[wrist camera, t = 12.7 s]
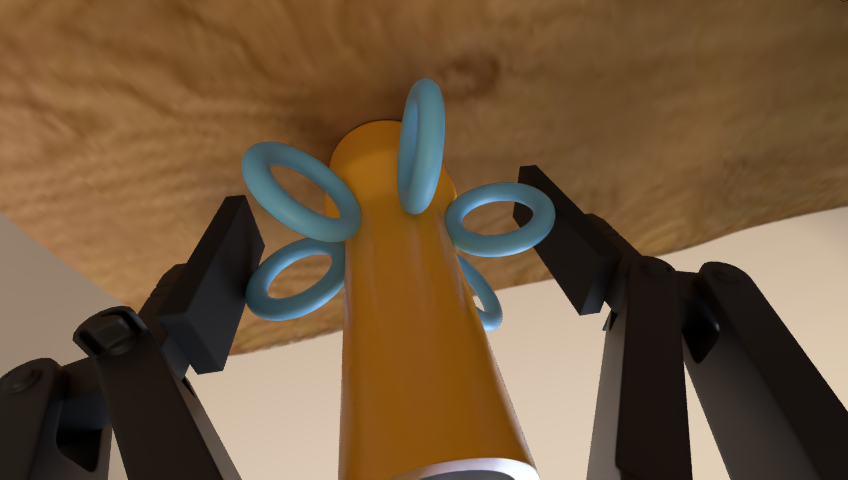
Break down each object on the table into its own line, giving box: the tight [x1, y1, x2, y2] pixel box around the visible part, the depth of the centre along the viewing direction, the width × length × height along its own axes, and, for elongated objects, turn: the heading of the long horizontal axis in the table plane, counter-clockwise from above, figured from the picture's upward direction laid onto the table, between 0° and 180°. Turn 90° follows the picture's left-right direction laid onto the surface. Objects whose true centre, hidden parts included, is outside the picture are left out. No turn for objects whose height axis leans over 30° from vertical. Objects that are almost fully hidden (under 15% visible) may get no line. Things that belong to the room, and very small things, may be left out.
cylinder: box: [241, 78, 555, 480], centre depth 13 cm, size 12×10×15 cm
